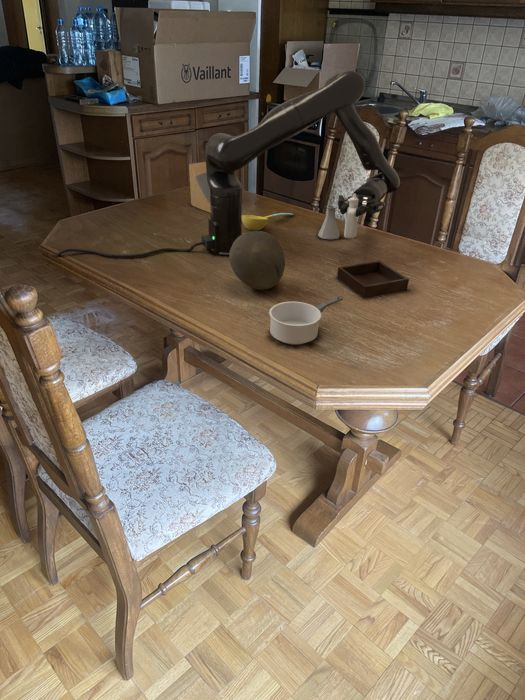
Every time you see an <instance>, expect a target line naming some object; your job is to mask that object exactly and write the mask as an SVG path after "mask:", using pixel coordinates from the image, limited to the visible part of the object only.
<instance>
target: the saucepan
mask: <svg viewBox="0 0 525 700" xmlns="http://www.w3.org/2000/svg"><path fill="white" fill-rule="evenodd" d="M343 300H344V297H343V296H337V297H334V298H332V299H329V300H327V301H324V302H323V303H320V304H318V305H316V306H314V305H312V304H309V303H307V302H302V301H284V302H283V301H282V302H280V303H276V304H274V305H273V306H271V308H270V309H269V310H268V315H269V317H270V327H269V333H270V335H271V336H272V337H273V338H274V339H275V340H278V341H280V342H282V343H284V344H287V345H302V344H303V345H304V344H306V343H309V342H311V341H314V340H315V339H316V338H317V336H318V334H319V323H320V320H321V318H322V313H323V312H324V310H326V308H327V307H329V306H332V305H335V304H338V303H339V302H341V301H343Z"/></svg>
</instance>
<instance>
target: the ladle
mask: <svg viewBox="0 0 525 700" xmlns="http://www.w3.org/2000/svg"><path fill="white" fill-rule="evenodd" d="M278 216H294V213H292V212H291V213H289V212H279V213H274V214H270V215H266V216H259V215H253V214H242V225H243V226H244V227H245V228H246V229H248V230H249V231H262V229H264V228H265V227H266V226H267V224H268V220H269V219H270V218H273V217H278Z"/></svg>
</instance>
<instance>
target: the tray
mask: <svg viewBox="0 0 525 700" xmlns="http://www.w3.org/2000/svg"><path fill="white" fill-rule="evenodd" d="M336 279H337V280H339V281H340V282H341V283H342V284H344V285H345V286H347V288H349V289H351V290H352V291H354V293H356V294H357V295H359V296H360V297H361V298H362V299H368V298H375V297H379V296H385V295H390V294H396V293H400V292H401V293H403V292H406V291H408V287H409V282H410V279H409V278H408V277H407V276H405V275H404V274H402V273H400V272H398V271H397V270H395V269H393V268H392V267H390V266H389V265H387V264H386V263H384V262H382V261H381V260H374V261H368V262H362V263H356V264H350V265H344V266H343V265H342V266H338V267H337V275H336Z"/></svg>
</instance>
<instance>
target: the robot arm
mask: <svg viewBox="0 0 525 700" xmlns="http://www.w3.org/2000/svg"><path fill="white" fill-rule="evenodd" d="M365 89H366V82H365V79H364V77H363V75H362V74H361V73H359V72H358V71H356V70H351V69H350V70H348V69H347V70H344V71H340V72H337V73H335V74H332V75H330V76H329V77H328V78H327V79H326V80H325V83H324V85H323V86H322V87H320V88H318V89H315V90H312V91H309V92H306V93H303V94H301V95H297V96H295V97H293V98H291V99H288V100H286V101H284V102H283V103H281V104H279V105H277V106H275V107H273V108H272V109H271V110H269V111H268V113H266V114H265V116H264V117H263V118H262V120H261V121H260V122H259V123H258V124H257V125H256V126H255V127H253V128H251V129H249V130H247V131H245V132H243V133H240V134H237V135H231V134H228V133H224V132H217V133H215V134H213V135H211V137H210V138H209V139H208V141H207V142H206V146H205V162H206V172H207V181H208V185H209V188H210V212H209V214H210V217H209V218H208V219H207V221H208V223H207V224H208V234H203V235H201V238H200V239H201V241H198V242H196V243H194V244H192V245H191V246H190V247H189V248H185V249H184V248H174V247H162V248H158V249H157V248H156V249H153V250H151V251H147V252H142V253H134V254H117V253H107V252H103V251H99V250H94V249H84V248H65V249H62V250H60V251H58V252H57V253H56V254H55V255H54V256H55V258H57V257H60V256H61V255H63V254H64V253H69V252H77V253H89V254H90V253H91V254H97V255H99V256H104V257H108V258H123V259H124V258H125V259H126V258H137V257H139V258H140V257H145V256H146V257H147V256H149V255H153V254H156V253H160V252H180V253H181V252H182V253H186V252H187V253H188V252H191V251H192V250H194V248H196V247H197V246H201V245H202V247H204V248H205V249H206V250H210V251H211V252H212V253H213V254H214V256H229V253H230V249H231V247H232V245H233V243H234V241H235V240H236V239H237V238H238V237H239V236H240V235H242V234H243V233H242V232H243V230H242V227H243V222H242V215H243V185H242V183H241V181H240V180H239V178H238V175H237V171H239V170H241V169H242V168H244V167H245V166H247V165H248V164H250V163H251V162H252V161H254V160H256V159H257V158H258V157H259V156H261V155H262V154H264V153H265V152H267V151H269V150H271V149H273V148H275V147H276V146H278V145H280V144H282V143H284V142H286V141H287V140H289V139H292V138H294V137H295V136H297V135H298V134H301V133H302V132H303V131H305V130H307V129H308V128H310V127H312V126H313V125H315V124H316V123H318V122H320V121H321V120H323V119H324V118H325V117H327V116H328V115H330V114H332V113H334V115H335V116H336V117H337V119H338V121H339V123H340V124H341V126H342V127H343V129H344V130H345V133H346V134H347V136H348V137H349V139H350V141H351V143H352V144H353V147H354V149H355V152H356V154H357V156H358V158H359V161H360V163H361V165H362V167H363V169H364V170H365V171H369V172H370V171H378V173H376V174H373V175H370V176H369V177H368V178H367V179H366V180H365V183H363V184H361V185H360V186H359V187H358V188H356V189H355V190H354V192H353V193H352V194H351V195H349V196H347V197H345V196H343V195H342V194H339V195H338V199H337V208H338V210H339V213H340V214H341V215H346V211H347V208H348V207H349V201H350V198H352V197H353V194H354V193H355V194H356V198H358V199H359V200H358V206H357V207H358V208H357V209H356V217H358V218H359V217H361V216H362V215H365V214H366V213H367V215H370V216H371V215H373V214H377V213H379V212H382V211H383V206H384V201H382V200H383V199H384V198H385V196H386V195H388V194H390V193H393V192H395V191H397V190H398V189H400V184H401V180H400V177H399V176H400V175H399V174H398V172H397V171H396V170H395V168H393V166H392V165H391V164H390V163H389V161H388V160H387V158H386V157H385V155H384V152H383V150H382V148H381V146H380V143H379V141H378V140H377V139H378V138H377V137H376V135H375V133H373V131H372V129H371V128H369V126H368V125H367V124H366V123H365V122H364V121H363V120H362V118H361V117H360V115H359V114H358V112H357V110H356V108H355V106H354V104H356V103H357V102H359V100H360V99H361V98H362V96H363V95H364V93H365Z"/></svg>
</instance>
